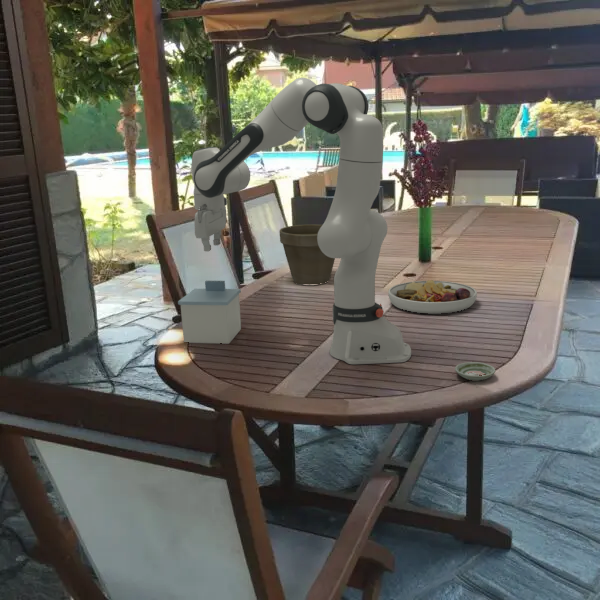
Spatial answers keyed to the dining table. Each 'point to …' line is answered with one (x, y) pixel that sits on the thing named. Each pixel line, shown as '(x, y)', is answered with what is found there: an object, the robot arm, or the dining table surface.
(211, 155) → the robot arm
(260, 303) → the dining table surface
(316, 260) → the plant pot
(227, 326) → the tub
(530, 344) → the dining table surface
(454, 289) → the bowl
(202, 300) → the lid
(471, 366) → the saucer
